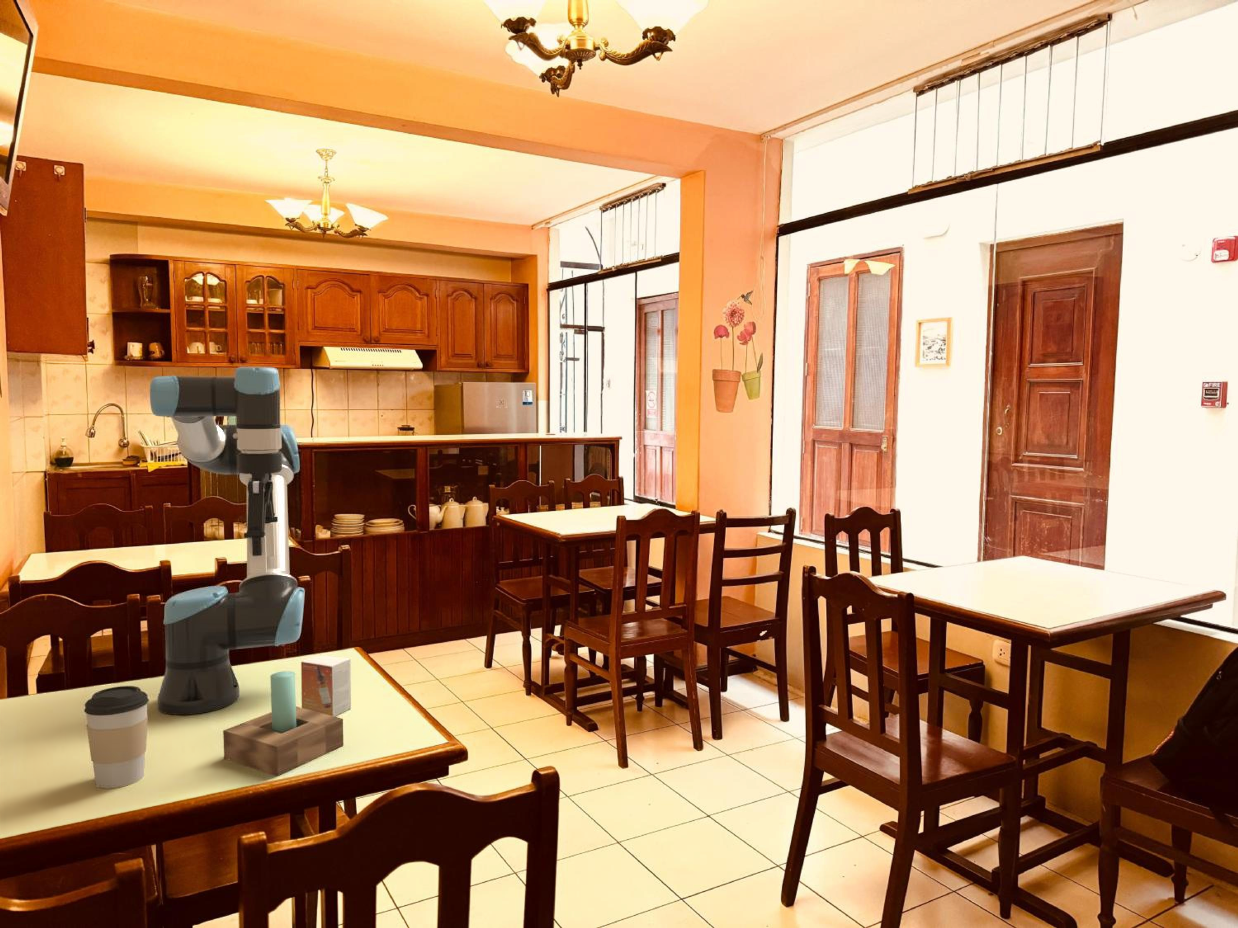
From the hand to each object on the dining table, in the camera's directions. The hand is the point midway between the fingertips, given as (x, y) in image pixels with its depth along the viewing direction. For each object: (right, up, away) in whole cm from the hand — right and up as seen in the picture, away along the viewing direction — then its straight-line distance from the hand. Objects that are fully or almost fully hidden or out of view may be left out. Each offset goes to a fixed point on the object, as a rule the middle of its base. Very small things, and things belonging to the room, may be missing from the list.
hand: (262, 564), depth 154 cm
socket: (+7, -32, -7) cm, 34 cm away
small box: (+7, -31, +13) cm, 35 cm away
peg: (+7, -33, -7) cm, 34 cm away
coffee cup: (-16, -33, -18) cm, 41 cm away
